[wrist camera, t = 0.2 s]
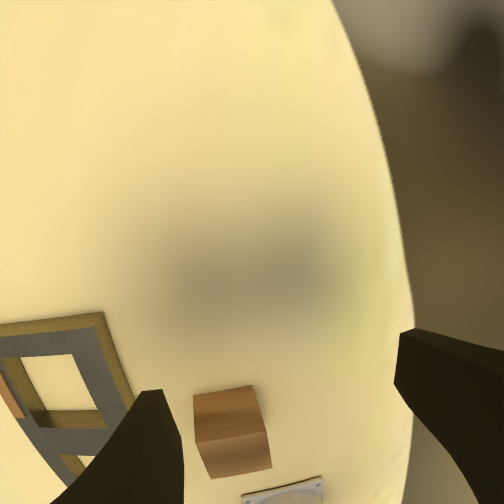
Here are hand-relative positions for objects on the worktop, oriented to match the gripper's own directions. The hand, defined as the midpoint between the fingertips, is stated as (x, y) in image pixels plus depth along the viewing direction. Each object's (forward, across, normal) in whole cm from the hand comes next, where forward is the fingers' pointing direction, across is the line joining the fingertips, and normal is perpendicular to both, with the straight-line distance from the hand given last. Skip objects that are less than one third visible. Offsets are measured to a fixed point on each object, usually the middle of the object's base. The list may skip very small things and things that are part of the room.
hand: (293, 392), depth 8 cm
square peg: (+10, +2, +9) cm, 14 cm away
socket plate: (+10, +13, +9) cm, 19 cm away
